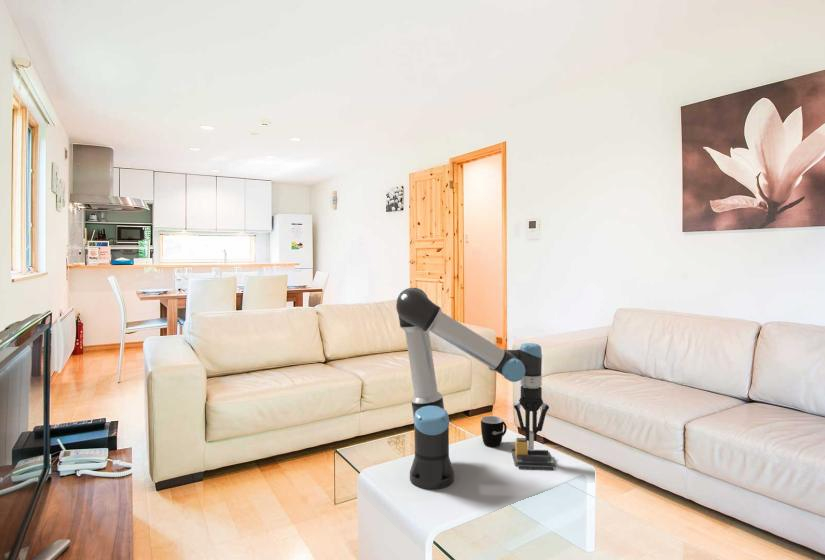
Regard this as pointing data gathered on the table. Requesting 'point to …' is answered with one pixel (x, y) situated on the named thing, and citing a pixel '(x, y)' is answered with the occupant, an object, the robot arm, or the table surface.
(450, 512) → the table surface
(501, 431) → the mug
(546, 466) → the dark grey long bar
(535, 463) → the panel
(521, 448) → the toggle
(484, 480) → the table surface
